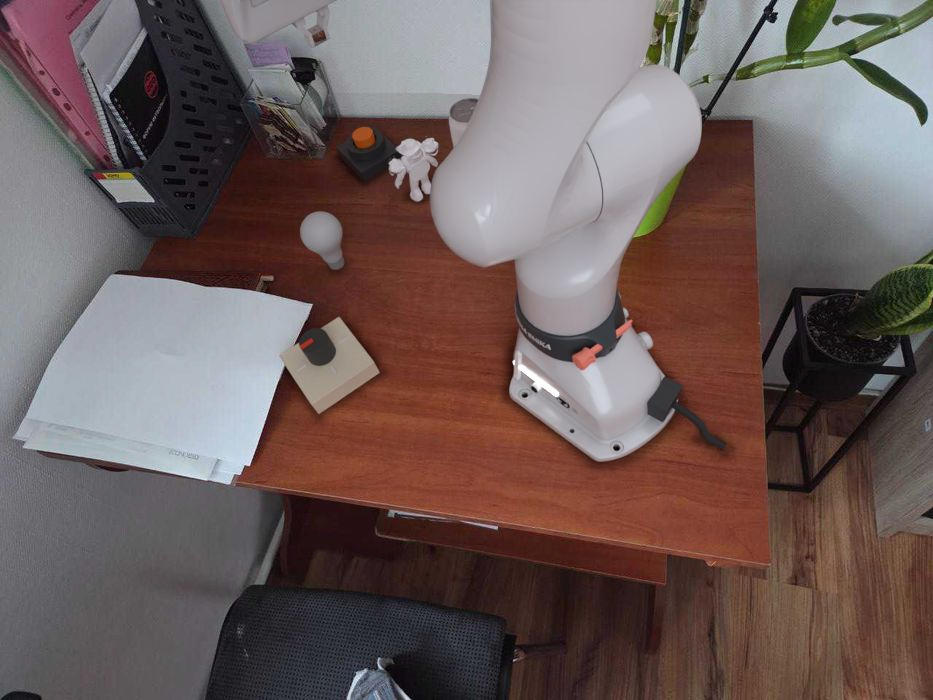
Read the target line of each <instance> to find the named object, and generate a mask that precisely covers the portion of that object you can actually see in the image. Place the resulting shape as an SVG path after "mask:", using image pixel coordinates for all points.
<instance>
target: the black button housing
mask: <svg viewBox="0 0 933 700" xmlns="http://www.w3.org/2000/svg"><path fill="white" fill-rule="evenodd" d="M368 127H369V126H368ZM369 128H371V129H372V131H373V134H374V137H375V143H374V144H373V145H371V146H370V147H368V148H363V149H361V148H357V147H356V145H355V143H354V140H353V137H352V134H353V132H352V133H351V134H350V135H349V136H348V138H347V139H346V141H344V142H343V143H340V144H339V145H337V146H336V150H337V154H338V156H339V157H340V159H341V160H342V161H343V162H344V164H346V165H347V166H348V167H349V168H350V169H351V170H352V171H353V172H354V173H355V174H356V175H357V176H358V177H359V179H361V180H362V181H363V183H365V182H367V181H369V180H370V179H372V178H373V177H376V176H377V175H379V174H380V173H382V172H384V171H386V170H387V169H389V166H390V165H389V164H388V163H389V162H390V161H392V159H394V158H395V159H400V160H401V157H402V156H403V155H402V154H400V153H399V152H398V151H397V150H398V149H397V150H396V148H398V147H397V146H396V145H395V144H394V143H393V142H392V141H391V140H389V139H388V137H386V136H385V134H384V133H383V132H382V131H381V130H380V129H378V128H377V127H375V126H374V125H371V127H369ZM390 158H391V159H390Z"/></svg>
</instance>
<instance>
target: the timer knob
mask: <svg viewBox="0 0 933 700" xmlns="http://www.w3.org/2000/svg"><path fill="white" fill-rule="evenodd" d="M298 343H299V347H300V348H301V350H302V351H303V353H304V354H305V356H306V357H307V359H308V360H309V361H310V363H311V364H313V365H316V366H323V365H326V364H328V363H329V362H331V361H332V360H333V358H334V357H335V354H336V348H335V346H334V344H333V343H332V341H331V339H330V338H329V336H328V334H327V333H326V331H324V330H323V329H321V328H320V327H312V328H310V329H308V330H306V331H305V332H304V333H303V334H302V335H301V336H300V338H299V341H298Z"/></svg>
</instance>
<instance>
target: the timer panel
mask: <svg viewBox="0 0 933 700" xmlns="http://www.w3.org/2000/svg"><path fill="white" fill-rule="evenodd" d="M320 329H323V330H324V331H326V333H327V334H328V336H329V338H330V339H331V341H332V343H333V344H334V346H335V348H336V354H335V357H334V358H333V360H332V361H331V362H329V363H328V364H326V365H323V366H316V365H313V364H311V363H310V361H309V360H308V359H307V357H306V356H305V354H304V353H303V351H302V350H301V348H300V347H299V342H296V344H294V345H292V346H291V347H289V348H288V349H286V350H285V351H283V352H282V353H280V354H278V357H279V358H280V360H281V361H282V363H283V364H284V365H285V368H286V370H287V371H288V372H289V373H290V375H291V376H292V378H293V380H294V381H295V383H296V384H297V385H298V387H299V389H300V390H301V392H302V393H303V395H304V396H305V398H306V400H307V401H308V402H309V404H310V405H311V407H312V408H313V409H314V410H315V411H316V413H317V414H318V415H320V414H321V413H323V412H325V411H326V410H327V409H329V408H331V407H332V406H334V405H335V404H336V403H338V402H339V401H340V400H342V399H343V398H346V396H348V395H349V394H351V393H352V392H354V391H355V390H357V389H358V388H360V387H361V386H362V385H364V384H366V383H367V382H368V381H370V380H371V379H373V378H374V377H376V376H377V375H379V374H380V370H379V368H378V366H377V364H376V363H375V361H374V359H373V358H372V357H371V356H370V354H369V353H368V352H367V350H366V348H364V347H363V346H362V344H361V343H360V342H359V340H358V339H357V338H356V336H355V335H354V333H353V332H352V331H351V330H350V328H349V327H348V326H347V325H346V323H345V322H344V321H343V320H342V318H341V317H340V316H338V317H336V318H334V319H333V320H331V321H330V322H328V323H326V324H325V325H323V326H322V327H321V328H320Z"/></svg>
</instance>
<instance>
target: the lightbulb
mask: <svg viewBox="0 0 933 700" xmlns="http://www.w3.org/2000/svg"><path fill="white" fill-rule="evenodd" d="M299 235H300V239H301V241H302V243H303V245H304V246H305V247H306V248H307V249H308V250H309V251H310V252H313V253H315V254H317V255H318V256H319V257H321V258H322V260H323V261H324V262H325V263H326V264H327V266H328V267H329V268H330V269H331V270H333V271H338V270H341V269H342V268H344V265H345V262H346V261H345V259H344V258H345V257H344V256H343V250H342V247H341V245H342V241H343V227H342V224H341V222H340V221H339V220H338V218H337V217H336V216H335V215H334V214H331V213H330V212H327V211H320V210H319V211H314V212H312V213H310V214H308V215H306V216H305V218H304V219H303V221H302V222H301V224H300V228H299Z"/></svg>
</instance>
